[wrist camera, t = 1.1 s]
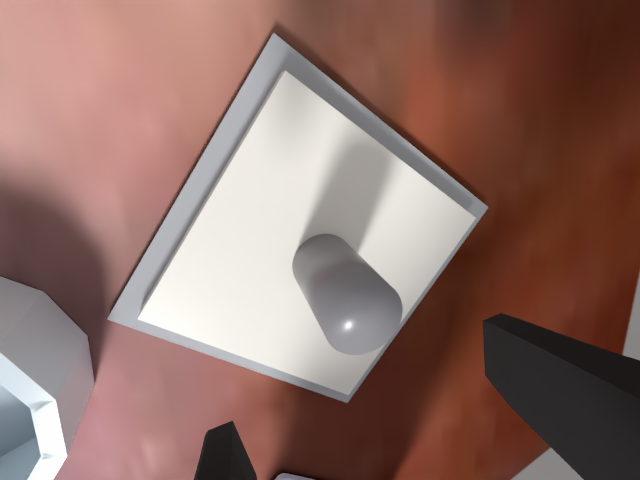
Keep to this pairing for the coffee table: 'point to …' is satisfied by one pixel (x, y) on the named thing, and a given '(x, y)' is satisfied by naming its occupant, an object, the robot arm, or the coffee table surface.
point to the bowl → (39, 382)
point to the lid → (307, 245)
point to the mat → (214, 161)
